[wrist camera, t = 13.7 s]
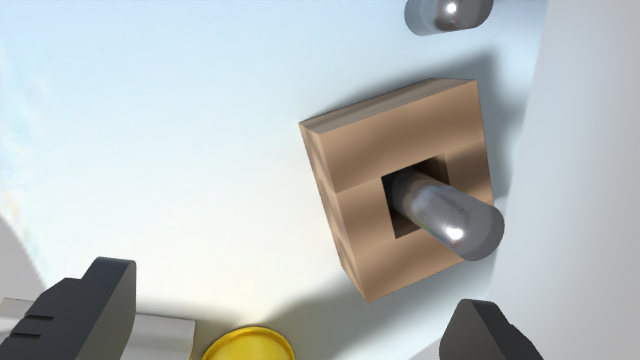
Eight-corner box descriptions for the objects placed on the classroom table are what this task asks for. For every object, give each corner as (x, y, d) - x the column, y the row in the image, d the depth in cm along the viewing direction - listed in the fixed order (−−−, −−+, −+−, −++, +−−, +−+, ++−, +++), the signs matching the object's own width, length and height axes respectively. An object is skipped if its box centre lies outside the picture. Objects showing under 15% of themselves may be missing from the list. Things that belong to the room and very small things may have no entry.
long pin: (361, 164, 39) (448, 218, 25) (396, 151, 39) (500, 196, 25) (370, 200, 40) (457, 269, 26) (404, 187, 41) (507, 247, 27)
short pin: (400, -4, 35) (444, -21, 29) (438, -16, 36) (490, -34, 29) (409, 41, 37) (452, 34, 30) (445, 29, 37) (496, 20, 31)
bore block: (298, 123, 36) (318, 134, 29) (430, 78, 38) (476, 79, 32) (341, 266, 41) (367, 303, 35) (455, 219, 44) (499, 245, 37)
